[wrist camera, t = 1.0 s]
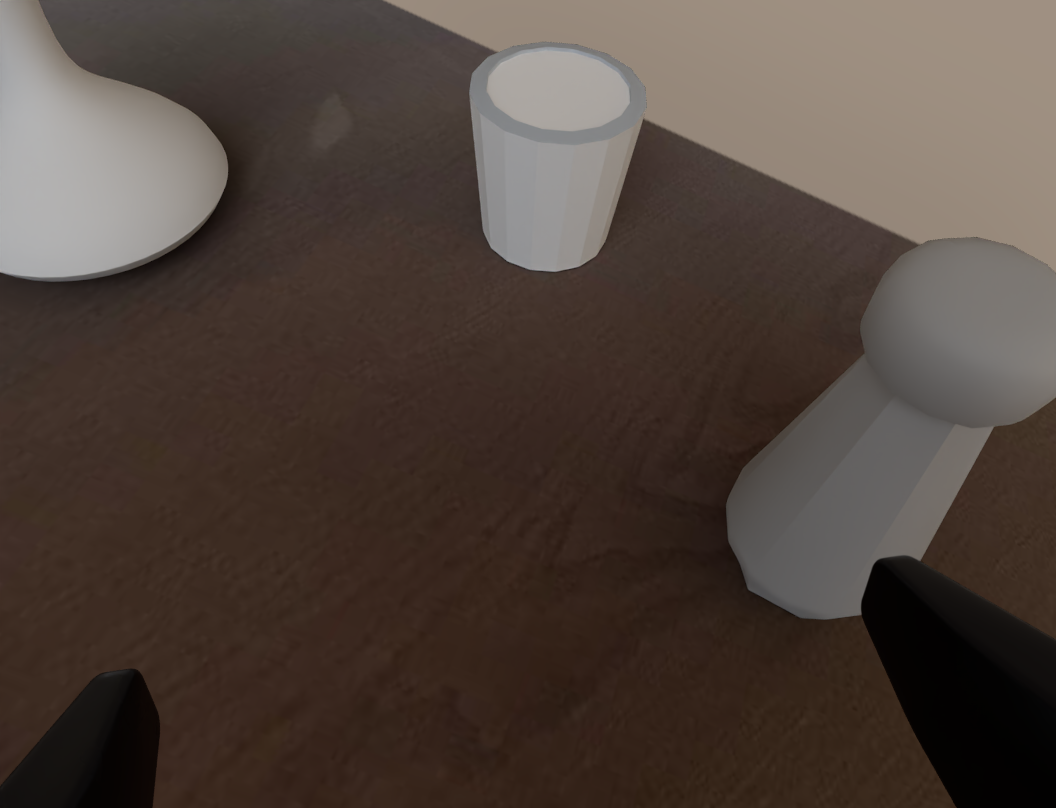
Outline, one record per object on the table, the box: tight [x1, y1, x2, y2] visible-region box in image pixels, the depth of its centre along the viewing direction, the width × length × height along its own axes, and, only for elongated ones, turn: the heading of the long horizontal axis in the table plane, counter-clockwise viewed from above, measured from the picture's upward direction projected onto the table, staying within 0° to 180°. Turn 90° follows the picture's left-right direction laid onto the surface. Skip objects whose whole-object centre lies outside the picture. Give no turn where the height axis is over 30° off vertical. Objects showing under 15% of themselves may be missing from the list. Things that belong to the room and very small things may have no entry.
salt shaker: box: [726, 237, 1056, 619], centre depth 21 cm, size 6×6×13 cm
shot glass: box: [469, 42, 647, 272], centre depth 33 cm, size 7×7×7 cm
